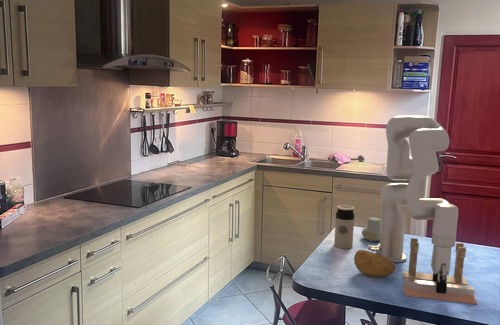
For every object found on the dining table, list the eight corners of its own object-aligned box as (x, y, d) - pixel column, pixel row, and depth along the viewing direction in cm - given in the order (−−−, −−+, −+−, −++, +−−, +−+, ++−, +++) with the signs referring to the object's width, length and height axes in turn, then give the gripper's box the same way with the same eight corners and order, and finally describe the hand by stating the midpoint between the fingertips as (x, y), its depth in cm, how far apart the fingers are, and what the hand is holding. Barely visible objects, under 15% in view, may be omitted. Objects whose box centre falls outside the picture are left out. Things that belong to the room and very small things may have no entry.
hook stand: (403, 279, 178) (406, 242, 175) (402, 273, 184) (405, 237, 181) (467, 287, 173) (471, 248, 170) (464, 280, 178) (468, 243, 176)
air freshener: (388, 240, 223) (389, 219, 222) (380, 244, 217) (382, 223, 215) (366, 235, 230) (367, 214, 228) (358, 239, 224) (359, 218, 222)
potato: (388, 285, 172) (390, 261, 171) (349, 274, 182) (350, 251, 180) (397, 278, 179) (399, 254, 178) (358, 267, 188) (360, 245, 187)
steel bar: (405, 289, 168) (406, 281, 167) (405, 286, 171) (405, 278, 170) (473, 298, 162) (474, 290, 162) (471, 294, 165) (472, 286, 165)
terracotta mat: (404, 295, 165) (404, 293, 164) (403, 284, 174) (403, 282, 174) (477, 304, 159) (477, 302, 159) (471, 292, 169) (471, 290, 168)
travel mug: (338, 242, 219) (341, 203, 216) (355, 245, 214) (357, 206, 211) (331, 246, 212) (333, 207, 209) (347, 250, 208) (350, 210, 205)
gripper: (429, 231, 172) (425, 276, 175) (435, 246, 156) (430, 296, 159) (451, 233, 171) (446, 278, 174) (459, 249, 154) (454, 299, 157)
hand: (439, 287), depth 166 cm, fingers open, 9 cm apart
